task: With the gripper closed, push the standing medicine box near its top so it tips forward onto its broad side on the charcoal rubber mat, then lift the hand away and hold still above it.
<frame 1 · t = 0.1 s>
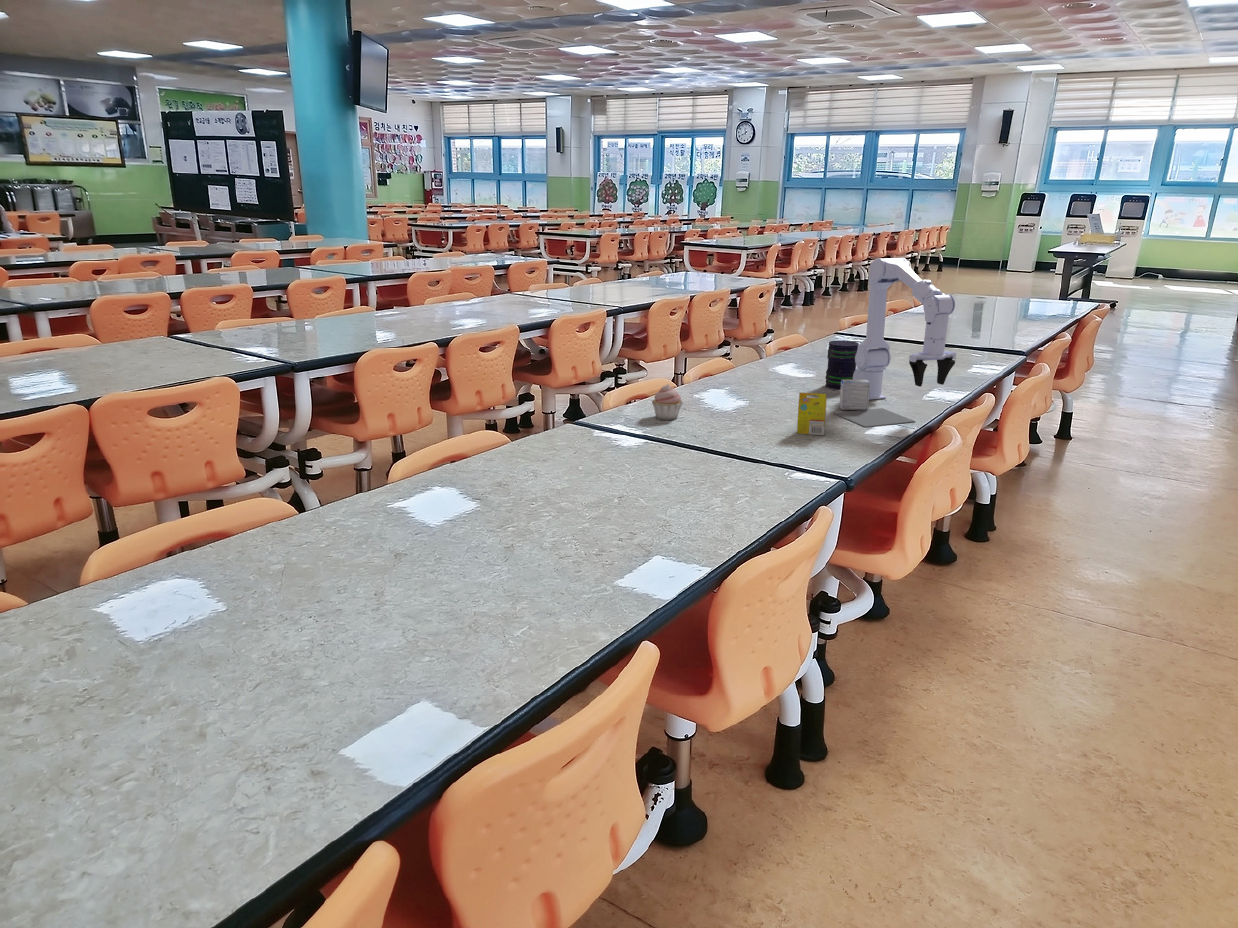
hand: (929, 384, 239), 10 cm above the table, tool pointing down, fingers open, 7 cm apart
medicine box: (853, 409, 252), on the table, touching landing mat
crayon box: (810, 434, 228), on the table
cupcake: (667, 418, 244), on the table
storage jar: (839, 387, 281), on the table
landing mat: (873, 417, 243), on the table
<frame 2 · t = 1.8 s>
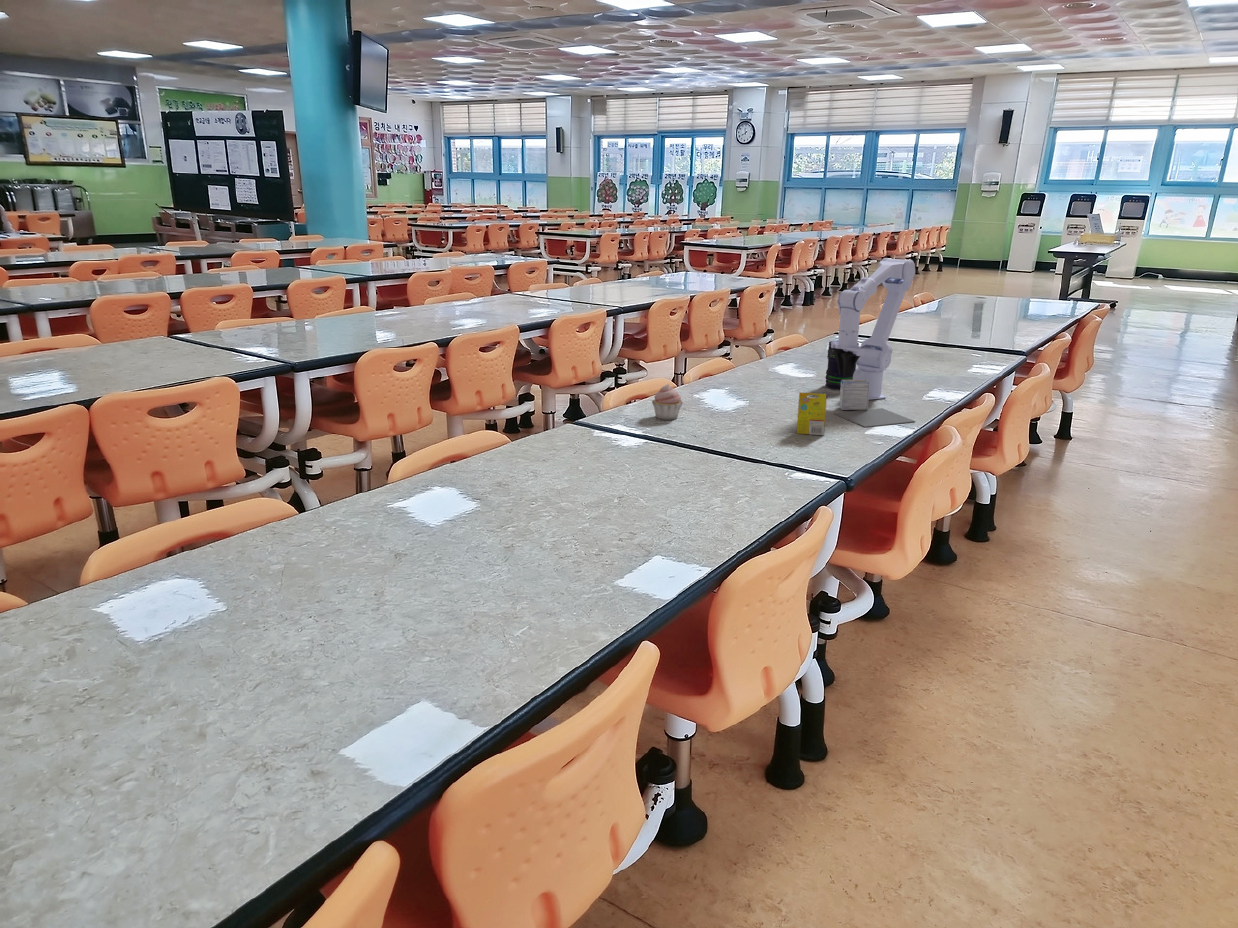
hand: (844, 375, 255), 9 cm above the table, tool pointing down, fingers closed
nothing on the table moved.
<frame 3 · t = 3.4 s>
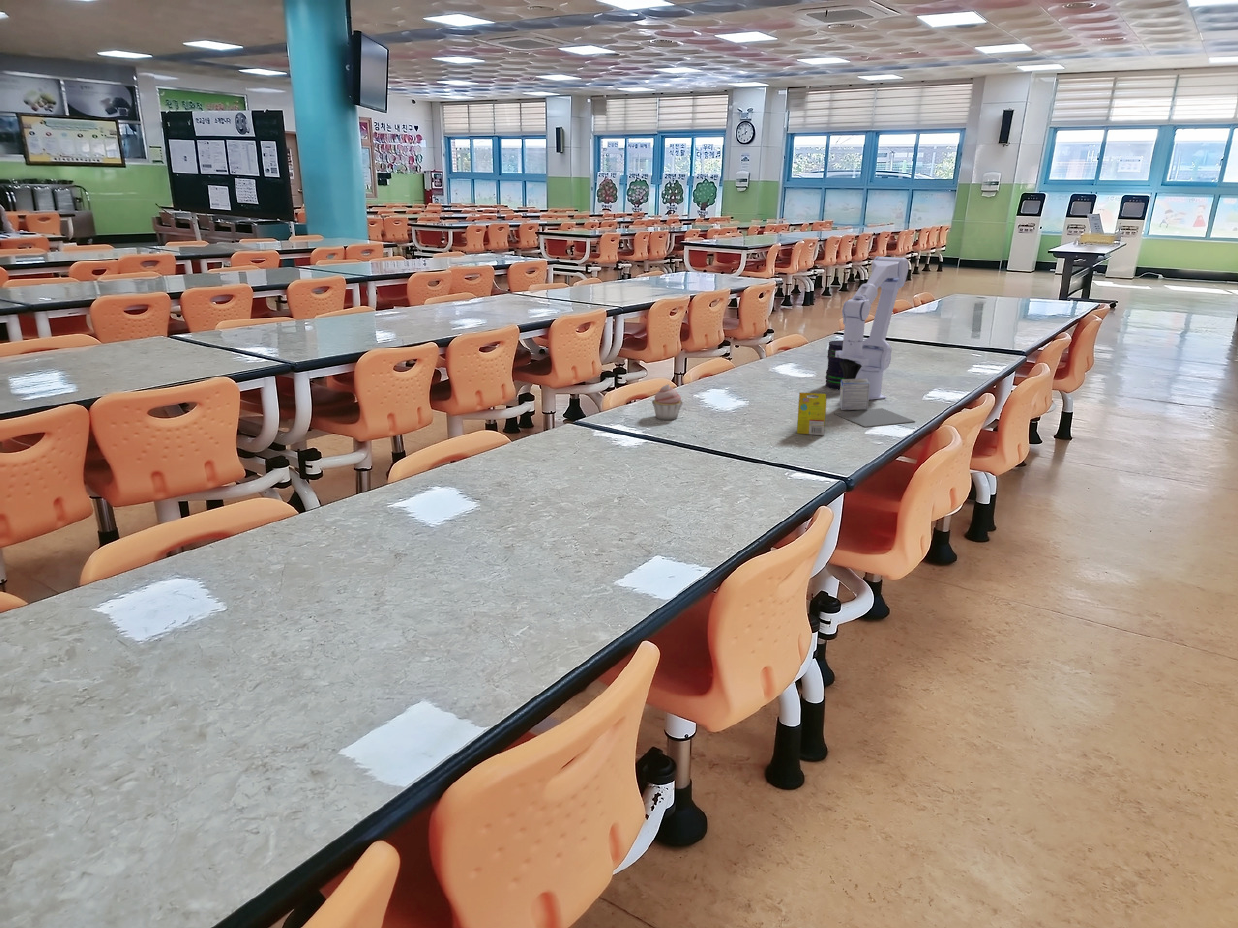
hand: (849, 384, 253), 7 cm above the table, tool pointing down, fingers closed
medicine box: (853, 408, 252), on the table, touching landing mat
everything else where it was.
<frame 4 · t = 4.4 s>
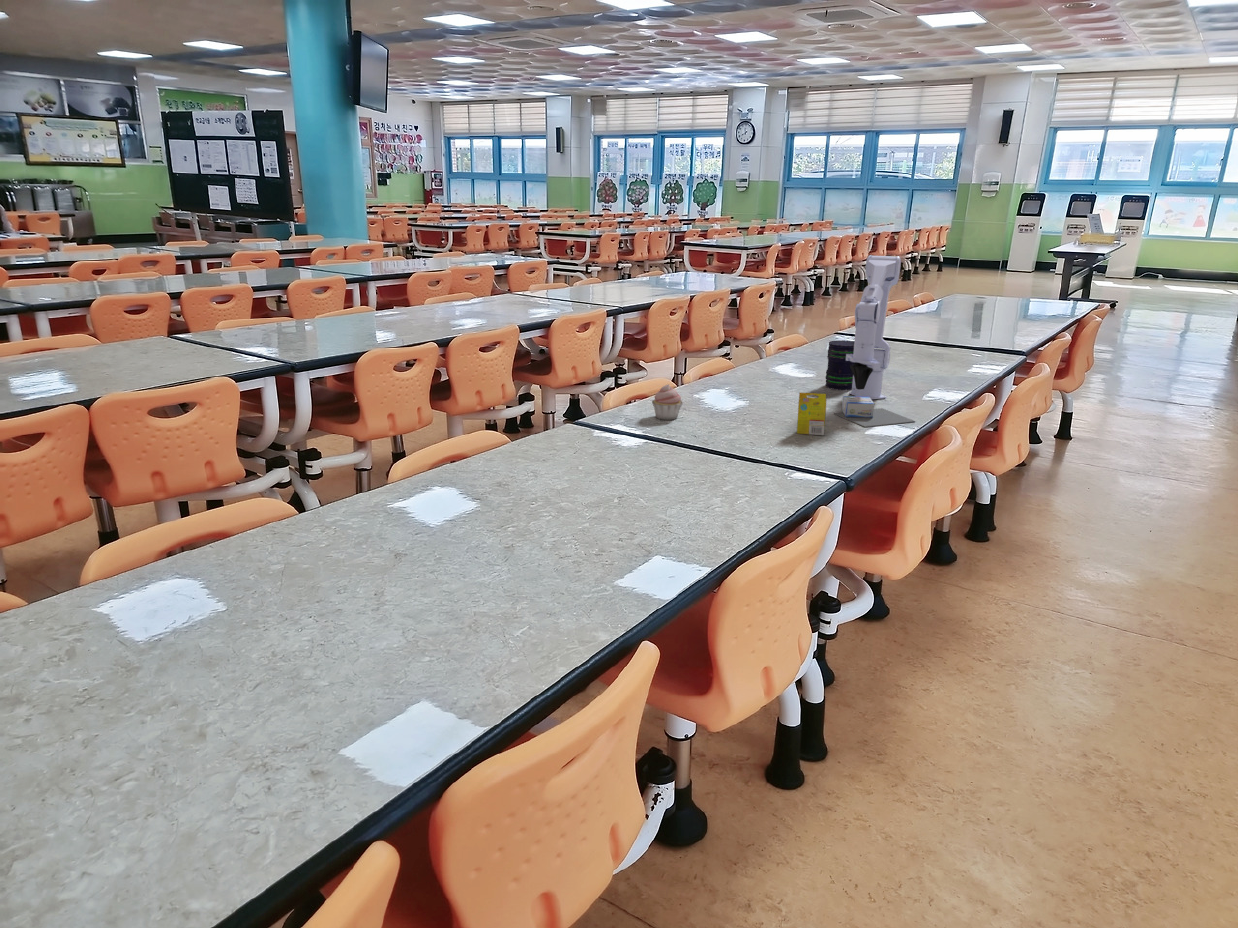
hand: (860, 388, 248), 7 cm above the table, tool pointing down, fingers closed
medicine box: (855, 403, 250), point 2 cm above the table, touching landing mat
everything else where it was.
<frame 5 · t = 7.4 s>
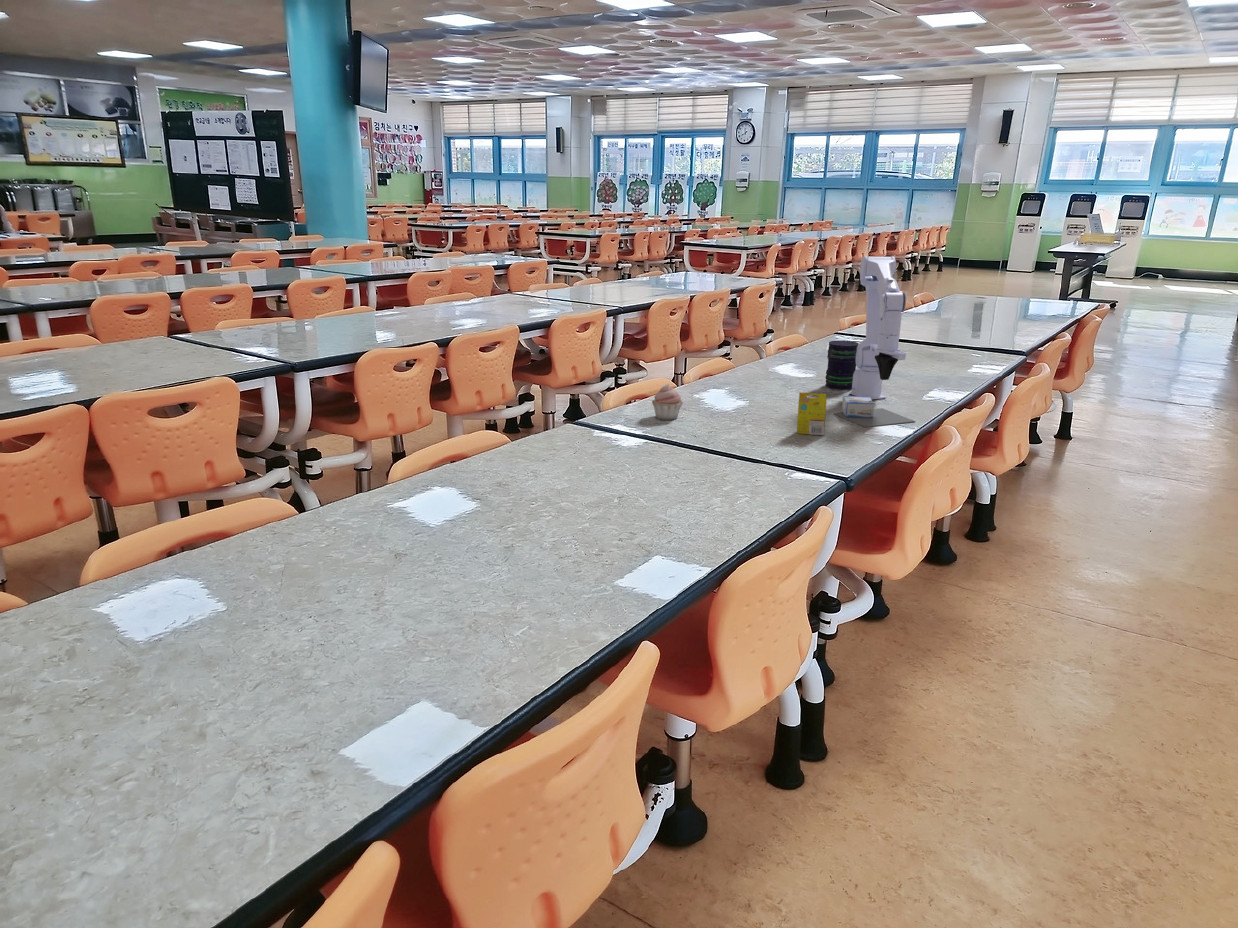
hand: (884, 379, 247), 10 cm above the table, tool pointing down, fingers closed
nothing on the table moved.
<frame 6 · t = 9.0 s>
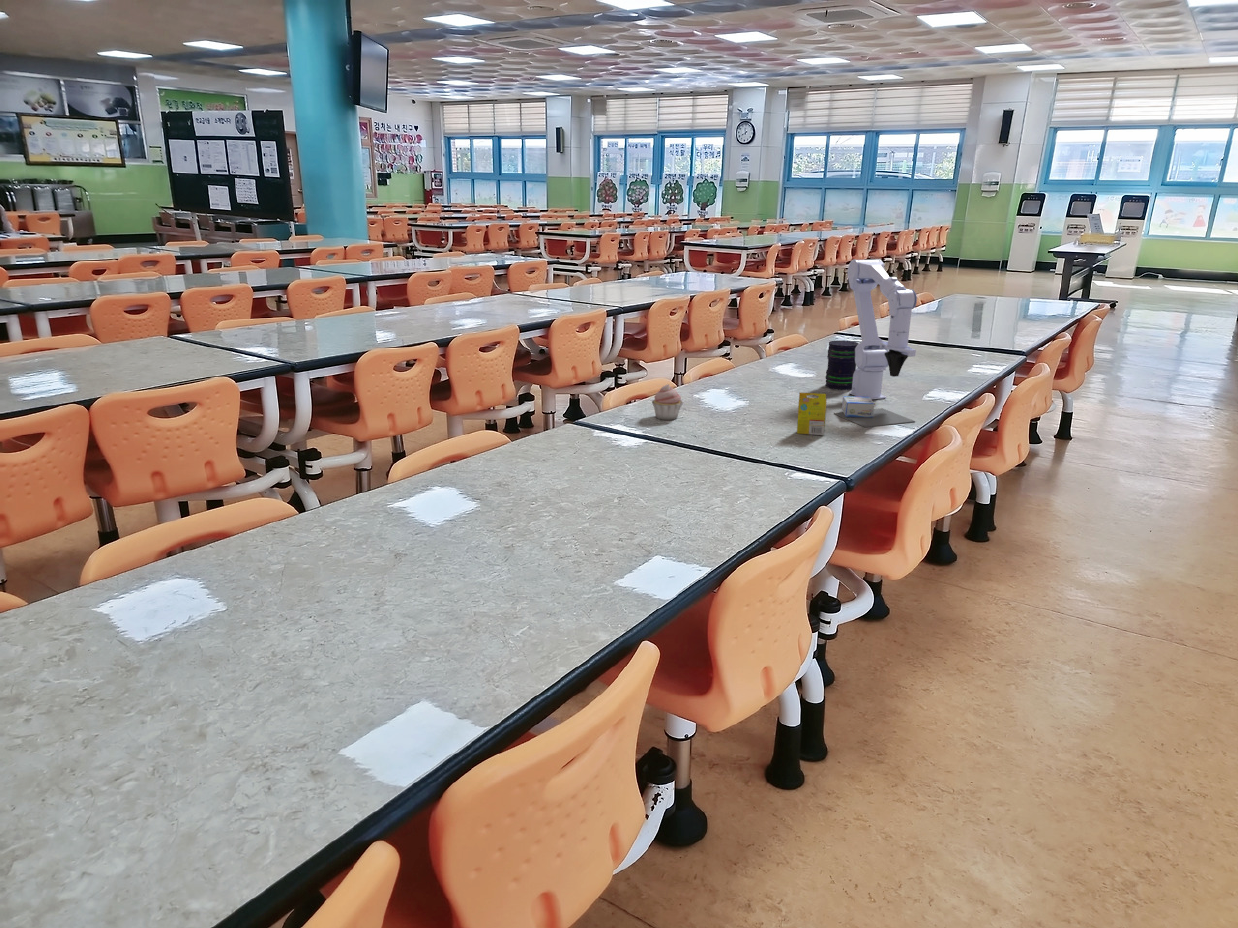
hand: (894, 376, 251), 10 cm above the table, tool pointing down, fingers closed
nothing on the table moved.
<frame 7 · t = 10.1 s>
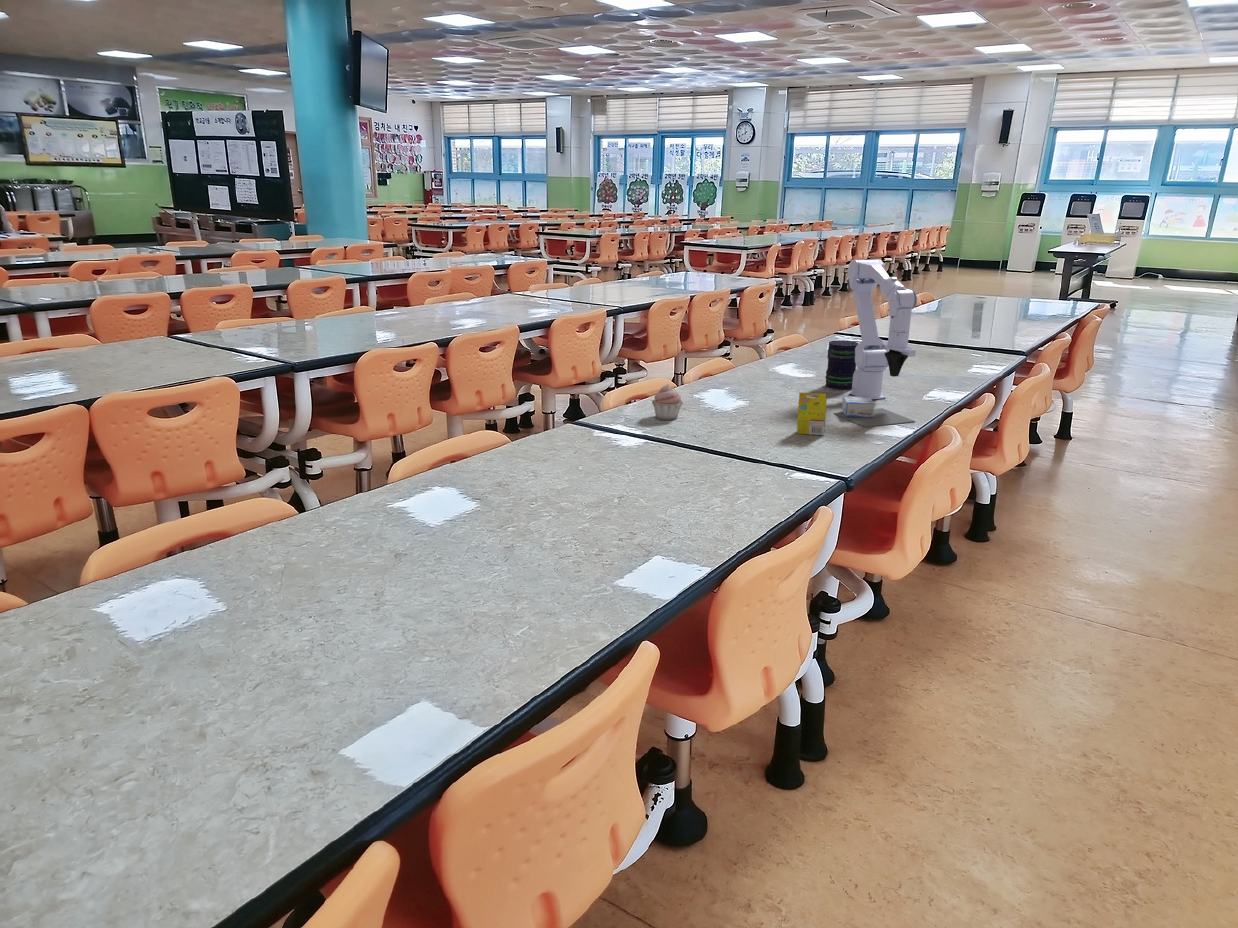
hand: (894, 376, 251), 10 cm above the table, tool pointing down, fingers closed
nothing on the table moved.
at the end: medicine box tilted 89°; medicine box inside the target area (5.4 cm from its centre), point 2.4 cm above the table; medicine box touching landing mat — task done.
